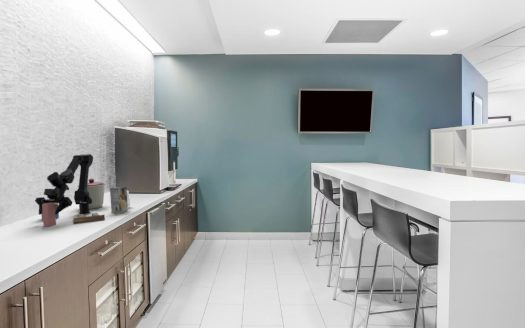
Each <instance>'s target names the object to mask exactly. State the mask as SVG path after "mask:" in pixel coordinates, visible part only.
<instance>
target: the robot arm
mask: <svg viewBox="0 0 525 328" xmlns="http://www.w3.org/2000/svg"><path fill="white" fill-rule="evenodd" d="M93 161H94V155H92V154H91V153H87V154H86V153H84V154H83V153H82V154H75V155H73V156H72V159H71V161H70V163H69V164H68V166H67V168H66V169H65V170H64V171H62V172H61V173H60V174H59V172H58V171H53V173H50V174H49V175H47V177H46V179H47V181H48V182H49V183H50V184H51V186H52V187H53V188H44V191H43V195H44V196H46V197H47V198H45V197H36V198H35V200H34V202H35V203H36V204H37V205H38V215H39V216H42V215H41V214H42V212H43V210H42V204H45V203H49V202H55V203H58V207H57V209H56V211H55V214H58V213H60V212H62V211H63V210H65V209H67V208H69V207H72V205H73V201H72V199H71V198H70V197H69V196H66V195H65V193H66V191H69V190H70V187H69V185H67V184H72V183H73V182H74V180H75V174H76V173H75V172H76V171H77V170H78V168H79V167H80V170H79V179H78V181H79V182H78V186H79V188H78V187H77V188H78V189H77V190H74V195H73V200H74V203H75V205H76V206H77V205H78V207H79V208H78V209H79V212H78V215H81V214H84V215H86V214H87V215H88V214H91V211H90V209H89V204H91V203H92V199H91V198H90V196H89V192H88V190H87V184H88V183H89V171H90V167H91V166H92V164H93ZM46 199H47V200H46Z"/></svg>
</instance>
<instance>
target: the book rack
mask: <svg viewBox="0 0 525 328" xmlns="http://www.w3.org/2000/svg"><path fill="white" fill-rule="evenodd" d="M77 216H78V217H74V218H72V222H73V224H74V225H75V224H82V223H90V222H99V221H104V220H105V219H106V216H105V214H99V213H98V212H92V213H91V215H89V216H86V214H78V215H77Z"/></svg>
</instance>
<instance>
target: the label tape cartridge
mask: <svg viewBox="0 0 525 328" xmlns="http://www.w3.org/2000/svg"><path fill="white" fill-rule="evenodd" d="M45 199H46V200H47V199H48V198H45ZM58 205H59V203H55V211H56V209H57V207H58ZM59 213H60V212H59ZM59 213H58V214H55V216H56V219H58V218H59V217H60V214H59ZM40 216H41V220H42V219H43V212H42V214H41V215H40Z"/></svg>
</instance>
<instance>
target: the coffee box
mask: <svg viewBox="0 0 525 328" xmlns="http://www.w3.org/2000/svg"><path fill="white" fill-rule="evenodd" d="M127 191H128V190H127V187H126V186H118V187H117V186H116V187H113V188H110V189H109V193H110V209H111V211H110V213H112V214H121V213H124V212H128V211H129V208H128V205H127Z"/></svg>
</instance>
